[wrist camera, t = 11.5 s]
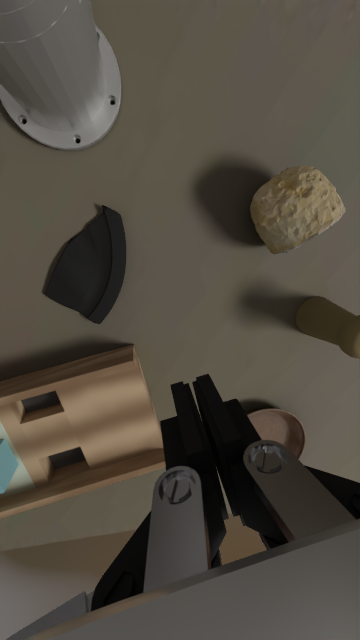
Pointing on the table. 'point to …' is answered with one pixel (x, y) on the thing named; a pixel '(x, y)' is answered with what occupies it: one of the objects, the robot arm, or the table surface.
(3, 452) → the teal block
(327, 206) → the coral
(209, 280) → the table surface
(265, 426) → the saucer
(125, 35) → the table surface
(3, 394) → the box
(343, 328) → the cork
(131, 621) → the robot arm
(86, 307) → the fan shaped piece
